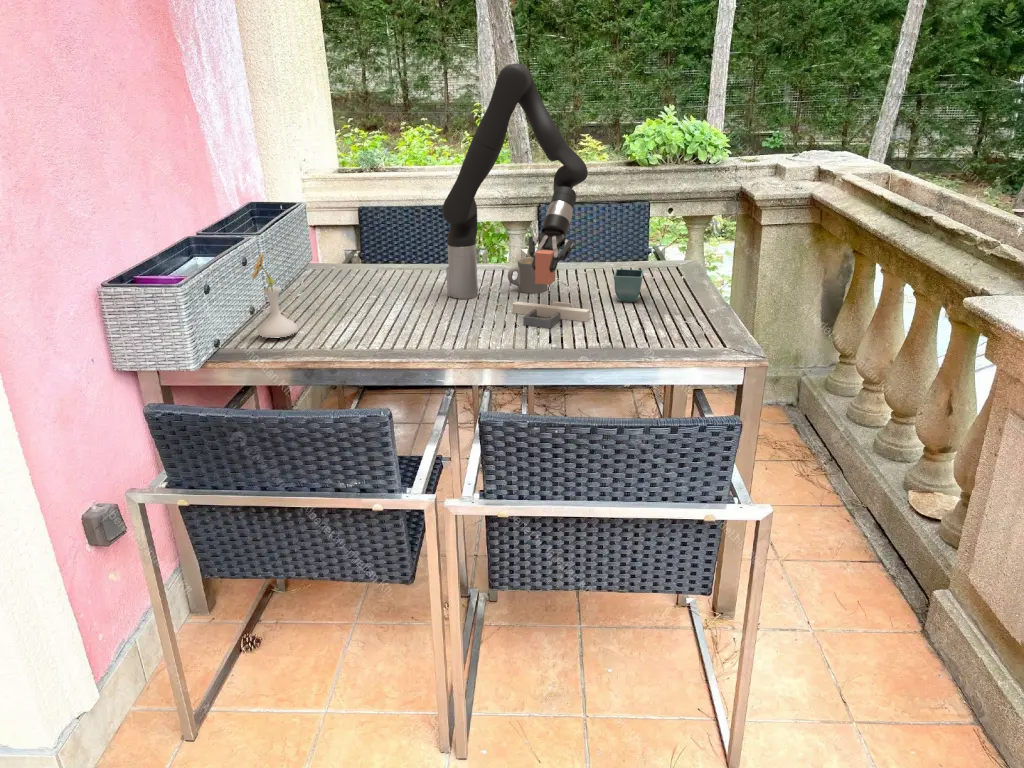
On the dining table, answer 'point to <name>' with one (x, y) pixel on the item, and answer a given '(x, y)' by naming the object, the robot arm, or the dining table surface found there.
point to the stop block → (544, 267)
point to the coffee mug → (526, 277)
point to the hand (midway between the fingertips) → (542, 269)
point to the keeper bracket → (540, 320)
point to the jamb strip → (552, 310)
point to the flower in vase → (273, 309)
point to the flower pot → (627, 284)
